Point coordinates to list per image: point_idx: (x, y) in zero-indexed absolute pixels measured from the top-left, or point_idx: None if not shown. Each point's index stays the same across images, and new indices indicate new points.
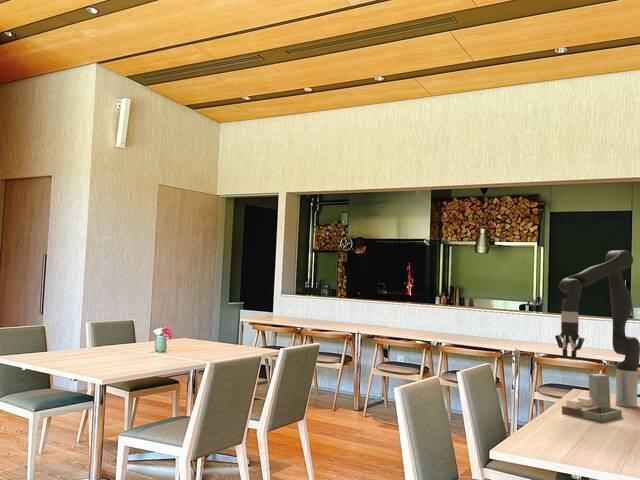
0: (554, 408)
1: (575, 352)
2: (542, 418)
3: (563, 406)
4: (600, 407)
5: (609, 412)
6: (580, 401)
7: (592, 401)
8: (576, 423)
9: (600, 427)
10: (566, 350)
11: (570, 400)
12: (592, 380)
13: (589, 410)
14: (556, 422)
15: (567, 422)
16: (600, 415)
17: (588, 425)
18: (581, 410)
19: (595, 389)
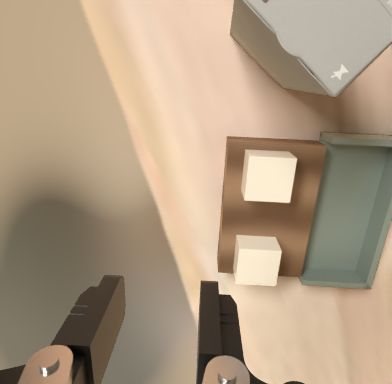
0: (164, 213)
1: (234, 355)
2: None
3: (222, 270)
4: (324, 154)
5: (383, 231)
6: (280, 257)
7: (293, 155)
8: (304, 336)
9: (369, 326)
10: (96, 358)
11: (248, 277)
12: (283, 59)
13: (307, 237)
14: (261, 364)
15: (281, 344)
16: (364, 286)
17: (336, 331)
18: (292, 276)
19: (298, 86)
